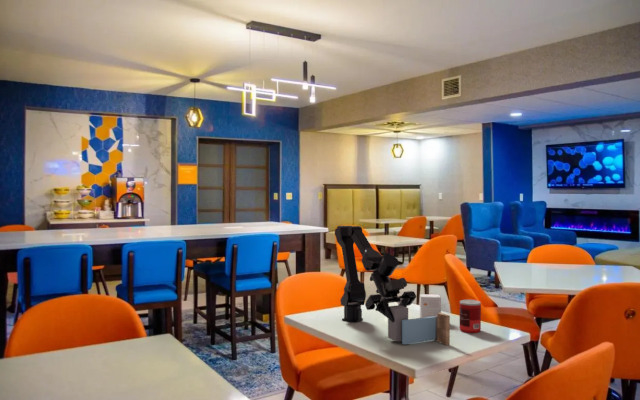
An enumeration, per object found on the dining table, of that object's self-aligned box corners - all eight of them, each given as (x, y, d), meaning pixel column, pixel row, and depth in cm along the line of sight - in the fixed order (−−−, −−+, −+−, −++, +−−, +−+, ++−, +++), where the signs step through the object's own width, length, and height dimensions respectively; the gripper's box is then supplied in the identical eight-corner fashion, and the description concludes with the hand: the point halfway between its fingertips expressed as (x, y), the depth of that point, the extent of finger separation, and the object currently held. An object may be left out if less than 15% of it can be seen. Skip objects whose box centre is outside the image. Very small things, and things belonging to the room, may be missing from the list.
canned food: (481, 329, 189) (482, 300, 189) (479, 334, 182) (479, 304, 182) (461, 326, 193) (461, 298, 193) (457, 332, 185) (458, 302, 185)
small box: (439, 319, 204) (439, 294, 204) (441, 323, 198) (441, 297, 198) (419, 319, 205) (419, 293, 205) (420, 322, 199) (421, 296, 199)
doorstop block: (388, 337, 174) (388, 306, 174) (399, 335, 176) (400, 305, 176) (396, 341, 169) (396, 309, 169) (408, 339, 172) (408, 308, 171)
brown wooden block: (437, 341, 173) (437, 313, 173) (440, 341, 174) (440, 312, 173) (446, 345, 169) (446, 316, 168) (449, 344, 169) (449, 315, 169)
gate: (436, 339, 176) (436, 315, 175) (439, 340, 174) (439, 316, 174) (401, 344, 169) (402, 320, 169) (404, 345, 168) (404, 321, 168)
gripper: (369, 272, 172) (386, 310, 162) (413, 268, 180) (432, 305, 170) (358, 290, 179) (373, 328, 170) (401, 286, 187) (418, 322, 177)
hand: (400, 320), depth 171 cm, fingers closed on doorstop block, 5 cm apart
